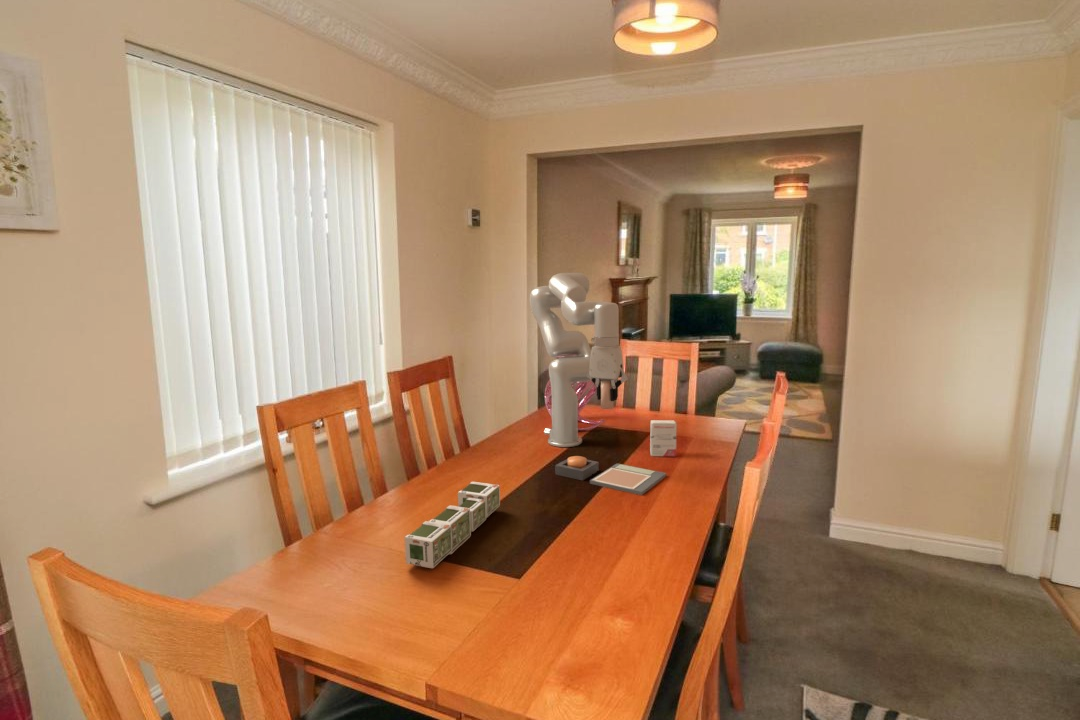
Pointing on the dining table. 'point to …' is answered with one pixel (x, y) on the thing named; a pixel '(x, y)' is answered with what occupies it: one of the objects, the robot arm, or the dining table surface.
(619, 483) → the picture board
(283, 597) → the dining table surface
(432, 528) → the row of white-green cartons
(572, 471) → the button housing
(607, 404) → the marker
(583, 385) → the spiral basket
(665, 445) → the ink box
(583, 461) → the button
